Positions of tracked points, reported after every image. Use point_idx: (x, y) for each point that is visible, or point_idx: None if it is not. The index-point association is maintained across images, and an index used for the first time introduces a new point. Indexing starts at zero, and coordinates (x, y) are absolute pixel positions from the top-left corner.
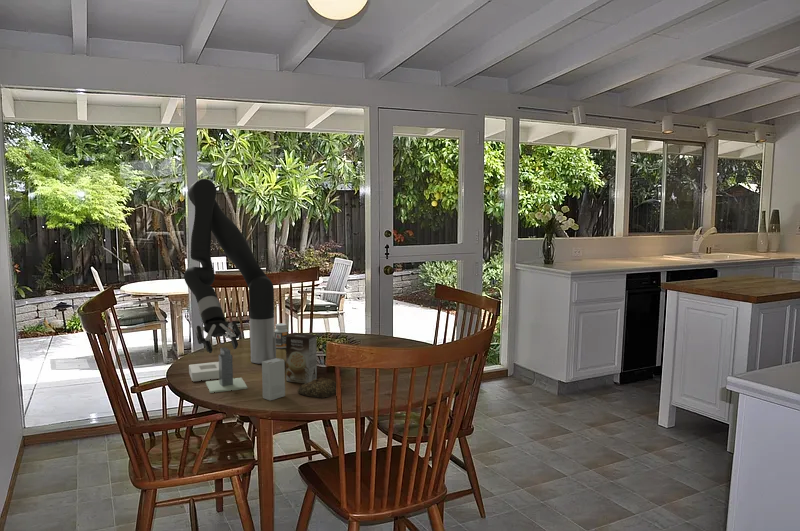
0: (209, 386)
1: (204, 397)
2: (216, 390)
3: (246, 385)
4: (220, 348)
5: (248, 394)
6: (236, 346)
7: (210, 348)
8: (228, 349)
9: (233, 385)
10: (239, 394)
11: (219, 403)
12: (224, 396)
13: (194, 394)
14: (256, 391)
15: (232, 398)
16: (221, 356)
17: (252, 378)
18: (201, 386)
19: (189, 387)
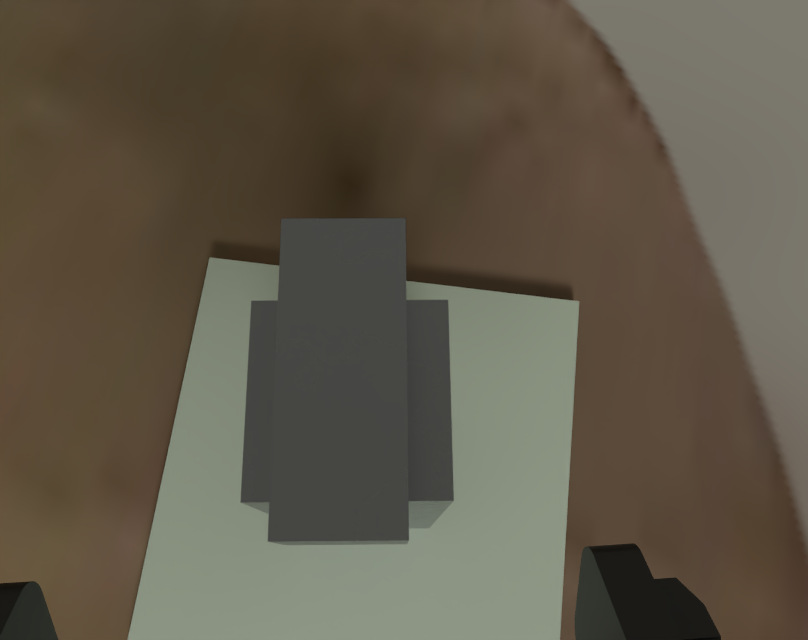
0: (552, 474)
1: (643, 210)
2: (515, 295)
3: (199, 306)
4: (407, 513)
5: (271, 101)
6: (3, 585)
7: (636, 559)
8: (286, 313)
9: None
10: (340, 138)
11: (554, 6)
12: (474, 150)
13: (719, 346)
14: (177, 144)
15: (427, 69)
16: (438, 333)
17: None
18: None
19: (746, 633)
